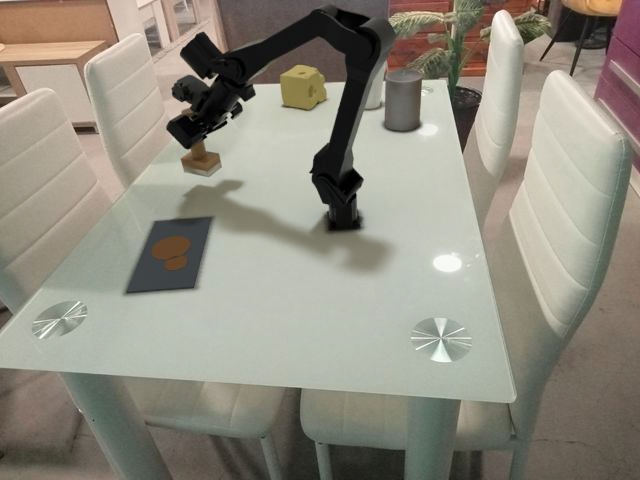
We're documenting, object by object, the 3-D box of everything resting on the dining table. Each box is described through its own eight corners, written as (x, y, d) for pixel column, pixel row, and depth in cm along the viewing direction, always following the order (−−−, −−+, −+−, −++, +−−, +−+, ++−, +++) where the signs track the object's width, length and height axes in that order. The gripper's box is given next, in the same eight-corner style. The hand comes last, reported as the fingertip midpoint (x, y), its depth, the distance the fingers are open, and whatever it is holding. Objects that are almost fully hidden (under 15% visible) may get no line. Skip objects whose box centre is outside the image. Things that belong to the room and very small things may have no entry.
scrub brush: (222, 167, 109) (209, 108, 101) (208, 177, 106) (194, 117, 97) (197, 162, 112) (183, 104, 103) (184, 172, 108) (168, 113, 100)
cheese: (327, 99, 153) (325, 67, 147) (308, 111, 146) (306, 78, 140) (300, 94, 158) (297, 63, 152) (281, 106, 151) (277, 74, 145)
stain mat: (193, 287, 85) (193, 286, 85) (126, 292, 85) (125, 291, 85) (211, 217, 102) (210, 216, 102) (155, 222, 102) (155, 220, 102)
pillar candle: (409, 114, 139) (412, 62, 130) (425, 127, 131) (429, 72, 122) (378, 121, 137) (379, 67, 128) (393, 134, 129) (394, 78, 120)
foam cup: (350, 102, 150) (348, 59, 142) (377, 97, 151) (377, 54, 144) (361, 112, 142) (360, 68, 134) (389, 107, 144) (390, 63, 136)
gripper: (221, 50, 99) (191, 97, 110) (160, 80, 86) (133, 129, 97) (258, 91, 101) (226, 133, 112) (204, 126, 88) (173, 170, 99)
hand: (191, 140), depth 105 cm, fingers closed on scrub brush, 3 cm apart
